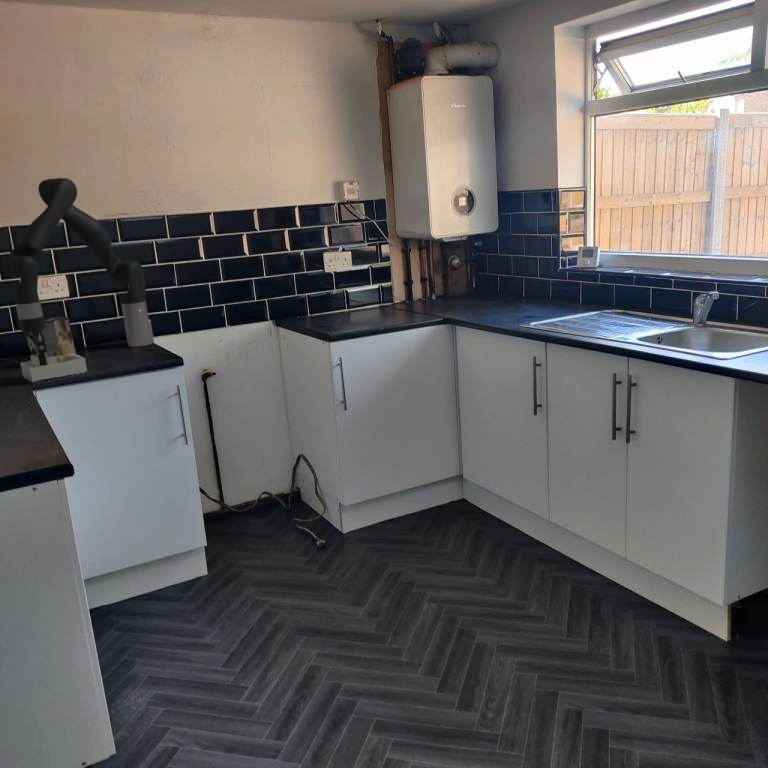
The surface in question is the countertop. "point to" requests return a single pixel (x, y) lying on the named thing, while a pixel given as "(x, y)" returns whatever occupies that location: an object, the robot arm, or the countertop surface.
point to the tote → (53, 368)
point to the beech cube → (65, 358)
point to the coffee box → (58, 337)
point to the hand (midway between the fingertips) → (40, 363)
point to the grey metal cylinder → (37, 360)
